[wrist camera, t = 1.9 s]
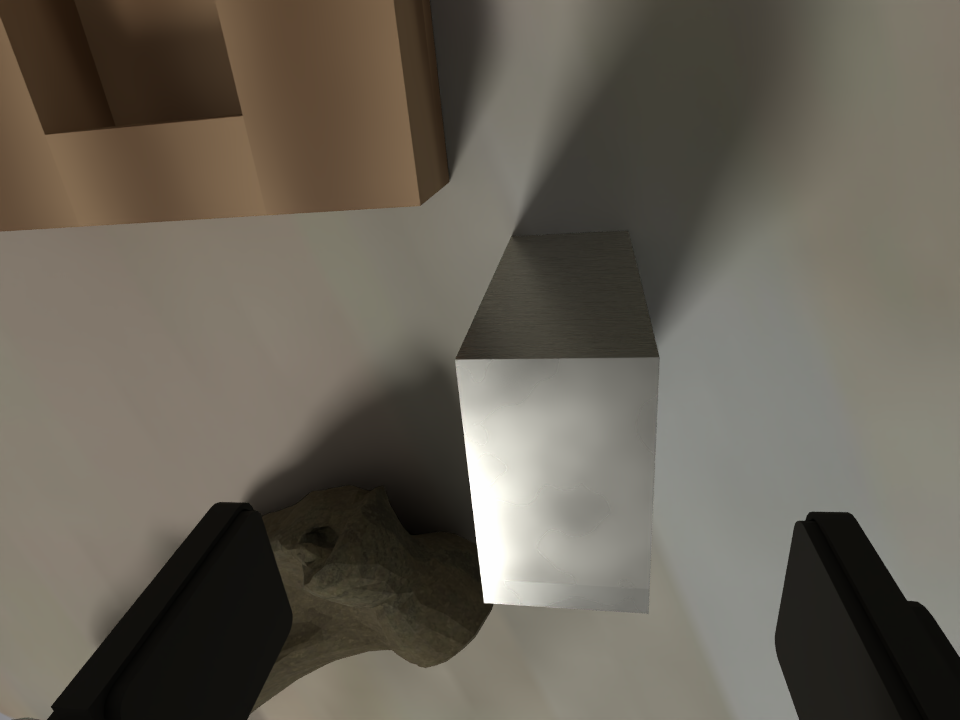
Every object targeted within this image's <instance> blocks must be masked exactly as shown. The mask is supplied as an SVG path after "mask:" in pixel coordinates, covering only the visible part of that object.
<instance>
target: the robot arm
mask: <svg viewBox="0 0 960 720" xmlns="http://www.w3.org/2000/svg"><path fill="white" fill-rule="evenodd" d="M292 621H293V614H292V610H291V606H290V603H289V600H288V597H287V594H286V591H285V588H284V585H283V581H282V578H281V575H280V572H279V569H278V566H277V563H276V560H275V557H274V553H273V550H272V547H271V544H270V541H269V538H268V535H267V532H266V528H265V525H264V522H263V519H262V516H261V514H260V513H259V512H258V511H254V509H253V507H252V506H251V505H250V504H249V503H233V502H219V503H216V504H214V505H213V506H212V507H211V508H210V509H209V511H208V512H207V513H206V514H205V516H204V517H203V518H202V519H201V521H200V522H199V523H198V524H197V526H196V527H195V528H194V529H193V531H192V532H191V533H190V534H189V536H188V537H187V538H186V539H185V541H184V542H183V543H182V544H181V546H180V547H179V548H178V549H177V550H176V552H175V553H174V554H173V555H172V557H171V558H170V559H169V560H168V562H167V563H166V564H165V565H164V567H163V568H162V569H161V570H160V572H159V573H158V574H157V575H156V577H155V578H154V579H153V580H152V582H151V583H150V584H149V585H148V587H147V588H146V589H145V590H144V592H143V593H142V594H141V595H140V597H139V598H138V599H137V600H136V601H135V603H134V604H133V605H132V606H131V608H130V609H129V610H128V611H127V613H126V614H125V615H124V616H123V618H122V619H121V620H120V621H119V623H118V624H117V625H116V626H115V628H114V629H113V630H112V631H111V633H110V634H109V635H108V636H107V638H106V639H105V640H104V641H103V643H102V644H101V645H100V646H99V647H98V649H97V650H96V651H95V652H94V654H93V655H92V656H91V657H90V659H89V660H88V661H87V662H86V664H85V665H84V666H83V667H82V669H81V670H80V671H79V672H78V674H77V675H76V676H75V677H74V679H73V680H72V681H71V682H70V684H69V685H68V686H67V687H66V689H65V690H64V691H63V692H62V694H61V695H60V696H59V697H58V698H57V700H56V701H55V702H54V703H53V705H52V706H51V708H52V709H53V711H54V712H53V713H52V714H51V715H50V717H49V718H48V719H47V720H247V719H248V717H249V715H250V713H251V711H252V709H253V707H254V705H255V702H256V700H257V698H258V696H259V694H260V692H261V690H262V688H263V686H264V684H265V682H266V680H267V678H268V676H269V674H270V672H271V670H272V668H273V666H274V664H275V662H276V660H277V658H278V656H279V654H280V651H281V649H282V647H283V645H284V643H285V641H286V639H287V637H288V635H289V633H290V630H291V627H292ZM775 647H776V653H777V657H778V660H779V663H780V666H781V669H782V672H783V675H784V677H785V680H786V683H787V686H788V689H789V692H790V695H791V697H792V700H793V703H794V706H795V709H796V712H797V715H798V717H799V720H960V657H959V656H958V654H957V653H956V651H955V650H954V648H953V647H952V645H951V643H950V642H949V640H948V639H947V637H946V636H945V634H944V633H943V631H942V630H941V628H940V627H939V625H938V624H937V622H936V621H935V619H934V618H933V616H932V615H931V614H930V612H929V611H928V610H927V609H926V608H925V607H924V606H923V605H921V604H920V603H918V602H915V601H907V600H906V598H905V597H904V595H903V594H902V592H901V590H900V589H899V587H898V586H897V584H896V582H895V581H894V579H893V578H892V576H891V574H890V573H889V571H888V570H887V568H886V566H885V565H884V563H883V562H882V560H881V558H880V557H879V555H878V554H877V552H876V551H875V549H874V547H873V546H872V544H871V543H870V541H869V539H868V538H867V536H866V535H865V533H864V531H863V530H862V528H861V527H860V525H859V523H858V522H857V520H856V519H855V518H854V516H853V515H852V514H850V513H848V512H809V514H808V515H807V517H806V521H797V522H796V523H795V526H794V531H793V537H792V542H791V548H790V553H789V559H788V565H787V570H786V576H785V581H784V587H783V593H782V598H781V604H780V610H779V615H778V621H777V626H776V632H775ZM13 720H38V719H33V718H28V717H27V718H20V719H13Z"/></svg>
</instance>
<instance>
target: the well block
mask: <svg viewBox="0 0 960 720" xmlns="http://www.w3.org/2000/svg"><path fill="white" fill-rule="evenodd" d="M447 183H449V173H448V163H447V154H446V145H445V136H444V127H443V117H442V108H441V99H440V90H439V81H438V71H437V62H436V53H435V44H434V35H433V26H432V16H431V7H430V0H0V231H15V230H32V229H48V228H65V227H81V226H98V225H114V224H130V223H147V222H163V221H180V220H196V219H212V218H229V217H245V216H262V215H278V214H295V213H311V212H327V211H344V210H360V209H377V208H393V207H410V206H421V205H422V204H423V203H424V202H426V201H427V200H428V199H429V198H431V197H432V196H433V195H434V194H435V193H437V192H438V191H439V190H440V189H441V188H443V187H444V186H445V185H446V184H447Z"/></svg>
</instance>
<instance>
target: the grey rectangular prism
mask: <svg viewBox="0 0 960 720" xmlns="http://www.w3.org/2000/svg"><path fill="white" fill-rule="evenodd" d="M455 364H456V372H457V380H458V389H459V397H460V405H461V414H462V422H463V431H464V439H465V447H466V456H467V464H468V472H469V481H470V489H471V497H472V506H473V514H474V522H475V531H476V539H477V548H478V556H479V564H480V573H481V581H482V589H483V598H484V603H493V604H509V605H524V606H539V607H554V608H570V609H585V610H600V611H616V612H631V613H646V614H649V591H650V568H651V544H652V521H653V497H654V474H655V451H656V427H657V404H658V380H659V353H658V349H657V345H656V341H655V337H654V333H653V329H652V325H651V321H650V317H649V313H648V309H647V304H646V300H645V296H644V292H643V288H642V284H641V280H640V276H639V272H638V268H637V264H636V260H635V255H634V251H633V247H632V243H631V239H630V235H629V231H628V230H627V231H607V232H586V233H566V234H546V235H526V236H511V238H510V240H509V243H508V245H507V247H506V249H505V251H504V254H503V256H502V258H501V260H500V262H499V265H498V267H497V269H496V271H495V273H494V275H493V278H492V280H491V282H490V284H489V286H488V289H487V291H486V293H485V295H484V297H483V300H482V302H481V304H480V306H479V308H478V311H477V313H476V315H475V317H474V319H473V321H472V324H471V326H470V328H469V330H468V332H467V335H466V337H465V339H464V341H463V343H462V346H461V348H460V350H459V352H458V354H457V356H456V359H455Z"/></svg>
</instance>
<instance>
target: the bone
mask: <svg viewBox="0 0 960 720" xmlns="http://www.w3.org/2000/svg"><path fill="white" fill-rule="evenodd" d="M262 519H263V522H264V525H265V528H266V532H267V535H268V538H269V541H270V544H271V547H272V550H273V553H274V557H275V560H276V563H277V566H278V569H279V572H280V575H281V578H282V581H283V585H284V588H285V591H286V594H287V597H288V600H289V603H290V606H291V610H292V614H293V621H292V627H291V630H290V633H289V635H288V637H287V639H286V641H285V643H284V645H283V647H282V649H281V651H280V654H279V656H278V658H277V660H276V662H275V664H274V666H273V668H272V670H271V672H270V674H269V676H268V678H267V680H266V682H265V684H264V686H263V688H262V690H261V692H260V694H259V696H258V698H257V700H256V702H255V705H254V707H253V709H252V711H251V713H252V712H253V711H254V710H256V709H257V708H258V707H260V706H261V705H262V704H264V703H265V702H266V701H268V700H269V699H271V698H272V697H273V696H275V695H276V694H278V693H279V692H281V691H282V690H283V689H285V688H286V687H288V686H289V685H290V684H292V683H293V682H295V681H296V680H298V679H299V678H301V677H303V676H305V675H307V674H309V673H311V672H313V671H315V670H316V669H318V668H320V667H322V666H324V665H326V664H328V663H331V662H333V661H335V660H339V659H342V658H346V657H349V656H353V655H357V654H360V653H364V652H368V651H378V650H393V651H394V652H395V653H396V654H397V655H399V656H400V657H402V658H404V659H405V660H407V661H408V662H410V663H413V664H417V665H418V666H419V667H424V668H427V667H431V666H435V665H438V664H441V663H444V662H446V661H448V660H449V659H450V658H452V657H453V656H455V655H456V654H457V653H458V652H460V651H461V650H462V649H464V648H465V647H466V646H467V645H468V644H469V643H470V642H471V641H472V640H473V639H474V638H475V637H476V635H477V633H478V632H479V630H480V629H481V627H482V625H483V624H484V622H485V620H486V619H487V617H488V615H489V614H490V612H491V610H492V607H493V603H484V598H483V589H482V581H481V573H480V564H479V556H478V548H477V545H476V544H475V543H473V542H471V541H469V540H467V539H464V538H462V537H460V536H458V535H456V534H452V533H448V532H443V531H441V532H433V533H426V534H420V535H410V534H409V533H408V532H407V531H406V530H405V529H404V528H403V526H402V524H401V523H400V521H399V519H398V518H397V516H396V514H395V513H394V511H393V509H392V508H391V506H390V504H389V500H388V496H387V493H386V491H385V488H384V486H380V487H377V488H374V489H373V490H372V491H368V490H363V489H361V488H358V487H355V486H352V485H347V486H341V487H336V488H330V489H326V490H319V491H318V490H317V491H312V492H311V493H309V494H308V495H307V496H306V497H305V498H303V499H302V500H301V501H300V502H298V503H297V504H296V505H293V506H291V507H288V508H284V509H282V510H280V511H276V512H272V513H268V514H266V515H264V516H262ZM251 713H250V714H251Z"/></svg>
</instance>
